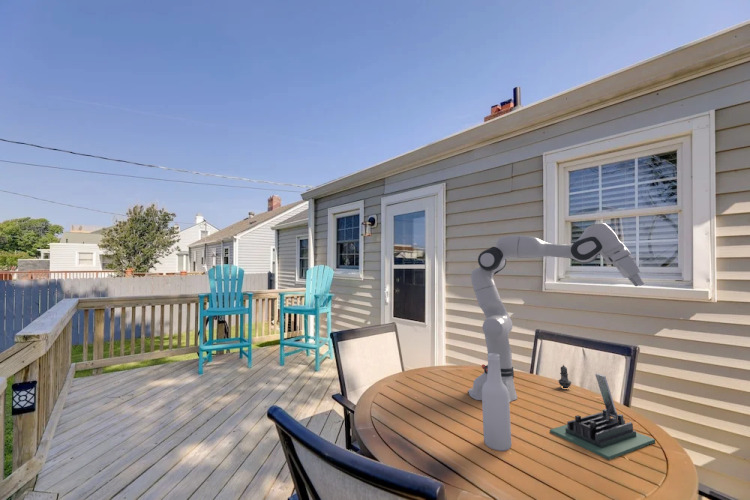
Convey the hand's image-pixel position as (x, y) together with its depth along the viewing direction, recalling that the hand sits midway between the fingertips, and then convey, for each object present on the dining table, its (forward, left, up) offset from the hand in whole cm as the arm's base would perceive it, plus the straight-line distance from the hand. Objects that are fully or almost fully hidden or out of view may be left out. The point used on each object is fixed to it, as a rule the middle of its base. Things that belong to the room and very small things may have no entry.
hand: (639, 285), depth 126 cm
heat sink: (-26, -12, -53) cm, 61 cm away
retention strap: (-22, -10, -40) cm, 47 cm away
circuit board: (-26, -12, -53) cm, 61 cm away
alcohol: (-64, -21, -54) cm, 86 cm away
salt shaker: (-13, +41, -54) cm, 69 cm away
